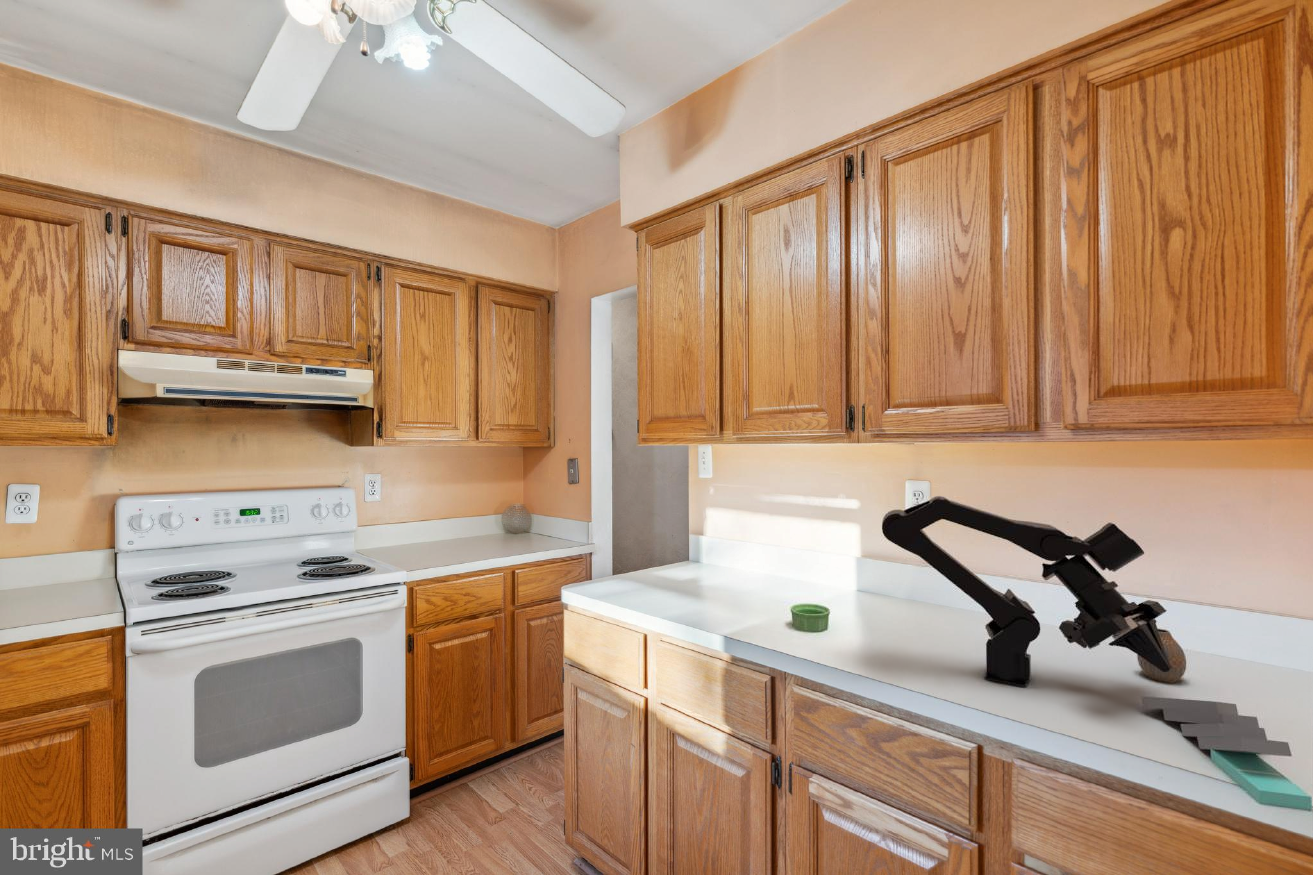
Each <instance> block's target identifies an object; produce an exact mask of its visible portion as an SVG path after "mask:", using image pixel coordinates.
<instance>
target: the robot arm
mask: <svg viewBox="0 0 1313 875" xmlns="http://www.w3.org/2000/svg"><path fill="white" fill-rule="evenodd" d="M942 520H945V521H948V522H950V523H951V522H952V523H954V524H956V525H959V526H963V527H966V528H969V529H973V530H976V531H979V532H982V533H983V534H984V533H985V534H987V535H990V536H994V537H997V538H999V539H1002V540H1006V541H1008V542H1010V543H1012V544H1014V545H1016V546H1017V547H1019V548H1022V549H1023V550H1025V551H1027V552H1029V553H1031V554H1033V555H1035V556H1037V557H1039V558H1041V559H1043V560H1045V561H1047V562H1048V561H1049V562H1053V563H1051V564H1050V563H1045V562H1044V563H1042V564H1041V565H1042V574H1041V577H1042V578H1043V580H1045V581H1048V580H1050V579H1052V578H1053V577H1056V578H1057V579H1058V581H1060V582H1061V584H1062V585H1063V586H1064V587H1065V588H1066V589H1067V590H1068V591H1069V592H1070V593H1071V594H1072V596H1074V598H1075V599H1076V602H1074V604H1075V608H1076V609H1077V610H1078V611H1079V614H1078V615H1077V617H1074V618H1073V620H1068V619H1067V620H1063V621H1062V622H1061V623H1060V625H1059V627H1058V629H1059V630H1060V632H1061V633H1062V635H1063V637H1064V638H1066V640H1067V642H1068V643H1070V644H1072V643H1076V644H1077V645H1079V646H1080V647H1082V648H1083V649H1086V648H1088V649H1089V650H1091V649H1094V648H1096V647H1098V646H1100V645H1101V643H1102V642H1104V641H1105V640H1107V639H1109V638H1110V637H1111V638H1112V639H1113V641H1111V642H1109V643H1108V644H1107V645H1109V646H1111V647H1113V646H1114V647H1120V648H1121V647H1122V648H1125V649H1128V650H1129V651H1131V652H1132V653H1135V655H1136V656H1137V655H1139V656H1140V657H1142V658H1143V659H1145V660H1146V661H1148V662H1149V663H1151V664H1152V665H1154V666H1155V667H1157V668H1158V669H1160V670H1161V671H1163V672H1167V671H1169V670H1171V669H1172V667H1171V664H1170V662H1169V659H1168V657H1167V654H1166V651H1165V649H1164V646H1163V644H1162V641H1161V638H1160V635H1159V632H1158V629H1159V628H1158V626H1157V623H1158V621H1157V620H1156V619H1157V618H1158V617H1160V616H1161V615H1163V614H1165V613H1166V612H1167V610H1166V609H1165V608H1164V606H1163V605H1162V604H1160V603H1159V602H1158V601H1156V600H1155V601H1154V600H1150V599H1148V600H1145V601H1142V602H1140V603H1136V602H1135V601H1131V602H1129V601H1127V599H1126V598H1124V595H1122V594H1121V593H1120V592H1119V591H1118V590H1117V589H1116V588H1118V587H1119V585H1118V584H1117V583H1116V581H1114V580H1112V581H1108V580H1107V579H1106V578H1105V576H1103V574H1102V573H1100V571H1098V569H1100V570H1101V571H1103V572H1104V571H1105V570H1108V571H1109V572H1113V573H1115V572H1117V571H1118V570H1120V569H1121V568H1123V567H1125V566H1126V565H1129V564H1130V563H1131V562H1133V561H1135V560H1137V559H1138V558H1140V557H1142V556H1143V555H1145V551H1144V550H1143V549H1142V548H1141V546H1140V545H1139V543H1137V542H1136V541H1135V539H1133V538H1130V536H1128V535H1127V534H1126V533H1125V532H1124V531H1123V530H1121V529H1120V528H1119V527H1118V526H1117V525H1116V524H1115V523H1113V522H1108V523H1106V524H1105V525H1103V526H1102V527H1101V528H1100V529H1099V530H1098V531H1096V532H1095V533H1092V534H1090V535H1089V536H1088V537H1086V538H1085V539H1081V538H1079V537H1077V536H1070V535H1067V534H1066V533H1065V532H1063V530H1060V529H1058V528H1056V527H1055V526H1053V525H1051V524H1047V523H1040V522H1034V521H1025V520H1017V519H1011V518H1008V517H1004V516H1000V515H998V514H994V513H991V512H988V511H985V510H982V509H980V508H979V509H978V508H975V507H972V506H969V505H966V504H963V503H959V502H957V501H955V500H954V501H953V500H950V499H948V498H946V497H945V496H941V495H937V496H934V497H931V499H929V500H927V501H924V502H922V503H918V504H916V505H913V506H911V507H909V508H906V509H904V510H903V509H893V510H890V511H888V512H887V513H885V515H884V516H883V517H882V523H881V529H882V531H881V532H882V535H883V536H884V538H885V539H886V540H888V541H889V542H891V543H893V544H894V545H896V546H898V547H899V548H901V549H903V550H905V551H907V552H909V553H912V554H914V555H916V556H918V557H919V558H921V559H922V560H923V561H924V562H926V563H927V564H928V565H930V566H931V567H932V568H933V569H935V570H936V571H937V572H938V573H939V574H941V575H942V576H943V577H944V578H946V579H947V580H949V581H950V583H952V584H954V586H955V587H956V588H958V589H960V590H961V591H962V592H963V593H965V594H966V595H967V596H968V597H969V598H971V599H972V600H974V601H975V603H976V604H978V605H980V606H981V607H982V608H983V610H984V611H985V612H986V613H987V614H988V615H989V617H990V618H991V619H992V620H990V621H989V622H987V623H986V624H985V625H984V626H985V627H984V628H985V630H986V632H987V635H988V636H989V638H988V639H987V641H986V643H985V652H986V653H985V658H986V659H985V660H986V661H985V664H986V665H985V666H986V667H985V668H986V669H985V674H984V679H985V680H987V681H991V682H992V681H993V682H997V683H1001V684H1002V683H1003V684H1007V685H1013V686H1017V687H1022V688H1026V687H1027V683H1028V682H1030V681H1031V677H1032V665H1031V663H1032V662H1031V661H1032V658H1031V657H1032V656H1031V654H1029V653H1028V650H1029V646H1030V644H1031V642H1033V641H1035V640H1036V639H1037V638H1038V637H1039V635H1040V633H1041V624H1040V622H1039V620H1038V618H1037V616H1035V613H1036V612H1035V610H1034V609H1033V608H1032V607H1031V605H1030V604H1029V603H1028V602H1027V601H1025V600H1022V599H1020V598H1019V597H1018V596H1017V595H1016V594H1015V593H1014V592H1013V591H1012V589H1010V588H1007V590H1006V592H1004V593H1003V592H1001V591H999V590H997V589H995V588H993V587H992V586H990V585H989V584H988V583H987V582H986V581H984V580H983V579H981V578H980V577H979V576H978V575H977V574H975V573H974V572H973V571H971V570H970V569H969V568H968V567H966V566H965V565H964V564H962V563H961V562H960V561H959V560H957V559H956V558H955V557H953V555H951V554H950V553H949V552H947V551H946V550H945V549H943V548H942V547H941V546H940V545H938V544H937V543H936V542H934V541H933V540H932V539H931V538H930V537H929V535H928V534H927V533H926V532H925V531H924V530H923V529H925V528H927V527H929V526H931V525H933V524H935V523H937V522H939V521H942ZM1068 556H1069V557H1070V558H1068ZM1086 557H1088V558H1089V559H1090V560H1091V561H1092V562H1093V563H1094V564H1095V565H1096V566H1097V567H1098V569H1096V568H1095V566H1094V565H1093V564H1091V563H1090V562H1089V560H1088V559H1087V558H1086ZM1157 628H1158V629H1157Z"/></svg>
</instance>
